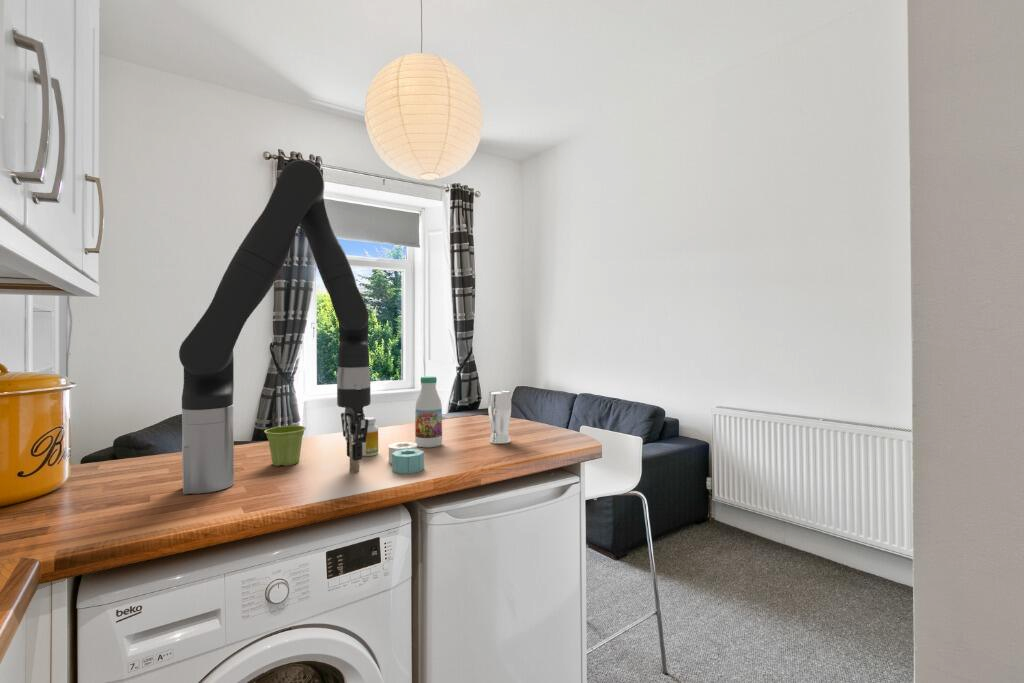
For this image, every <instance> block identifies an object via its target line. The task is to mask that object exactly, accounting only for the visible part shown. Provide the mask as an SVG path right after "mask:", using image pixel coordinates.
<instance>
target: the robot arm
mask: <svg viewBox="0 0 1024 683" xmlns="http://www.w3.org/2000/svg"><path fill="white" fill-rule="evenodd" d="M324 179H325V178H324V175H323V174H322V172H321V170H320V168H319V167H318V166H317V165H316V164H314V163H313V162H311V161H309V160H305V159H297V160H294V161H291V162H289V163H287V164H286V165H285V166H283V168H282V170H281V171H280V174H279V176H278V179H277V181H276V184H275V186H274V189H273V190H272V193H271V195H270V197H269V199H268V202H266V203H267V204H266V205H265V207H264V209H263V211H262V213H261V214H260V216H258V218H257V219H256V221H255V222H254V224H253V225H252V226H251V228H250V230H249V231H248V232H247V234H246V236H245V237H244V239H243V240H242V242H241V244H240V245H239V246H238V249H237V250H236V252H235V253H234V255H233V257H232V258H231V260H230V262H229V264H228V266H227V268H226V270H225V272H224V273H223V276H222V277H221V280H220V282H219V284H218V286H217V289H216V291H215V293H214V296H213V298H212V300H211V302H210V303H209V306H208V307H207V309H206V310H205V312H204V313H203V315H202V316H201V318H200V319H199V320H198V322H197V323H196V325H195V326H194V327H193V328H192V330H191V331H190V332H189V333H188V334H187V336H186V337H185V339H184V340H183V341H182V343H181V344H180V346H179V351H178V358H179V361H180V363H181V365H182V367H183V386H182V387H183V388H182V394H181V425H182V426H181V429H182V430H181V432H182V434H181V436H182V437H181V438H182V439H181V440H182V442H181V446H182V447H181V452H182V453H181V455H182V457H181V458H182V459H181V461H182V462H181V463H182V465H181V466H182V494H183V495H189V494H191V495H192V494H207V493H213V492H217V491H219V492H220V491H222V490H225V489H228V488H231V487H232V486H233V485H234V483H235V458H234V457H235V455H234V453H235V452H234V445H235V444H234V441H235V440H234V389H235V388H234V387H235V386H234V384H235V383H234V381H235V380H234V379H235V378H234V366H235V365H234V364H235V362H234V361H235V360H234V348H235V346H236V343H237V341H238V339H239V336H240V335H241V332H242V330H243V328H244V326H245V324H246V322H247V321H248V319H249V317H251V315H252V314H253V313H254V311H255V310H256V309H257V308H258V306H259V305H260V304H261V302H262V301H263V300H264V298H265V297H266V295H268V293H269V291H270V290H271V288H272V286H274V283H275V282H276V280H277V278H278V276H279V274H280V273H281V271H282V269H283V268H284V264H285V262H286V260H287V258H288V256H289V252H290V250H291V247H292V244H293V241H294V238H295V236H296V235H295V234H296V233H297V230H298V227H299V226H300V225H301V228H302V230H303V232H304V235H305V236H306V240H307V242H308V244H309V245H308V246H309V247H310V250H311V254H312V257H313V259H314V262H315V265H316V268H317V270H318V273H319V275H320V277H321V278H320V279H321V280H322V283H323V285H324V287H325V289H326V292H327V293H328V296H329V298H330V301H331V305H332V308H333V311H334V314H335V316H336V319H337V322H338V337H339V344H338V347H337V348H338V350H337V374H336V391H337V392H336V399H337V401H336V405H337V407H338V408H339V407H340V408H344V412H341V414H340V420H341V428H342V436H343V437H344V439H345V441H346V457H348V458H350V445H349V434H350V435H351V439H352V460H354V461H356V460H359V461H360V460H362V459H363V456H362V444H363V443H364V442H366V438H367V430H368V423H369V421H368V419H365V418H366V415H365V413H364V408H365V407H367V406H369V405H371V372H370V351H369V350H370V349H369V344H368V342H369V340H368V339H369V319H370V314H369V310H368V308H367V306H366V303H365V301H364V298H363V296H362V294H361V292H360V290H359V287H358V286H357V281H356V278H355V274H354V273H353V269H352V267H351V265H350V262H349V259H348V256H347V255H346V253H345V252H346V251H345V250H344V249H343V246H342V245H341V242H340V241H339V239H338V238H337V235H336V234H335V232H334V229H333V227H332V224H331V222H330V219H329V216H328V213H327V208H326V204H325V199H324V194H325V186H326V185H325V180H324ZM353 430H355V431H353ZM359 435H360V438H358V436H359Z"/></svg>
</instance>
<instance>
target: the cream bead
mask: <svg viewBox="0 0 1024 683" xmlns="http://www.w3.org/2000/svg"><path fill="white" fill-rule="evenodd" d="M405 449H418V446H417V443H416V442H413V441H411V442H410V441H401V442H399V441H398V442H395V443H394V442H393V443H391V444H390V443H389V444H388V464H391V465H392V453H394V452H395V451H398V450H405Z"/></svg>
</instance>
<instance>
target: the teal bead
mask: <svg viewBox="0 0 1024 683" xmlns="http://www.w3.org/2000/svg"><path fill="white" fill-rule="evenodd" d="M424 469H425V451H423V450H421V449H418V448H417V449H405V450H398V451H395V452H394V453H392V464H391V471H393V472H394V473H396V474H414V473H415V474H416V473H419V472H422V470H424Z"/></svg>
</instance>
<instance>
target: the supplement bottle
mask: <svg viewBox="0 0 1024 683" xmlns="http://www.w3.org/2000/svg"><path fill="white" fill-rule="evenodd" d="M365 419H368V421H369V423H368V430H367V438H366V442H364V443H363V444H362V457H371V456H376V455H378V454H379V428H378V426H377V425H375V424H376V422H377V421H376V417H372V416H371V417H370V416H369V417H368V416H367V417H366V416H365ZM359 438H360V435H359Z"/></svg>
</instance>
